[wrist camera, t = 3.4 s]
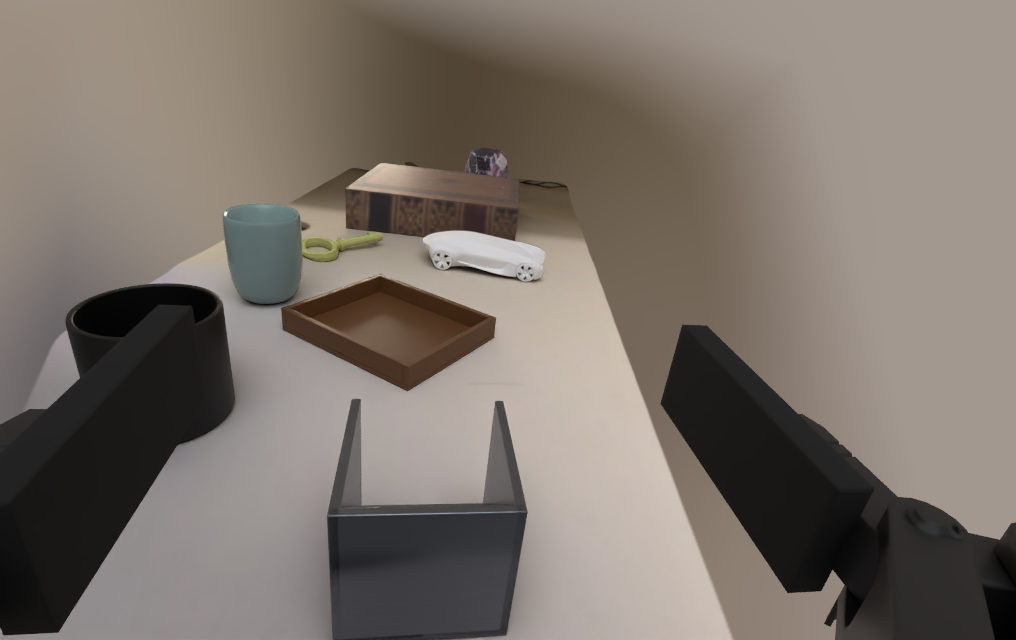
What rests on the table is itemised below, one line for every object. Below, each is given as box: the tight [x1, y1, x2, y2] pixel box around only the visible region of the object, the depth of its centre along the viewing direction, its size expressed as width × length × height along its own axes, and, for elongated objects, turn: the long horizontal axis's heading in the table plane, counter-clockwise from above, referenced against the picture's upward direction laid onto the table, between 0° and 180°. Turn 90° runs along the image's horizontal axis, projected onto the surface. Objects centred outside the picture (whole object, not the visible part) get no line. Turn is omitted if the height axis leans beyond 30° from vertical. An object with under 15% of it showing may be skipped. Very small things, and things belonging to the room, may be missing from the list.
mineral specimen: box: [465, 148, 508, 178], centre depth 125 cm, size 10×10×10 cm
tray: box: [281, 274, 496, 391], centre depth 57 cm, size 17×14×2 cm
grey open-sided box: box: [327, 399, 527, 640], centre depth 30 cm, size 9×9×9 cm
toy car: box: [423, 231, 545, 282], centre depth 79 cm, size 18×8×4 cm, turn 84°
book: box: [345, 163, 519, 241], centre depth 99 cm, size 24×28×7 cm
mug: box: [66, 284, 235, 443], centre depth 39 cm, size 9×12×9 cm
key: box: [302, 231, 382, 262], centre depth 79 cm, size 7×12×2 cm, turn 146°
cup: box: [223, 204, 302, 304], centre depth 60 cm, size 8×8×10 cm
